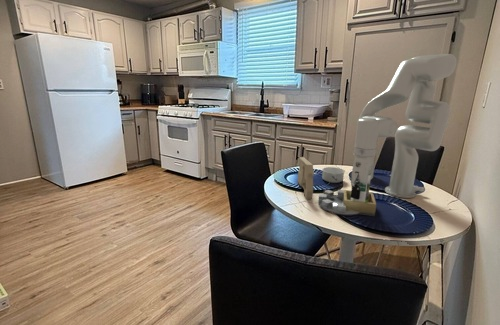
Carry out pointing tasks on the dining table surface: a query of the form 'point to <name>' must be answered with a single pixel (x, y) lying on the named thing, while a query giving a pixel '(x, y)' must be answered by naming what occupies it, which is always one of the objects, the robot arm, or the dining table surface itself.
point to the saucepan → (333, 174)
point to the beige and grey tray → (346, 204)
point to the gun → (306, 177)
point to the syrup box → (364, 190)
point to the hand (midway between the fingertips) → (359, 194)
